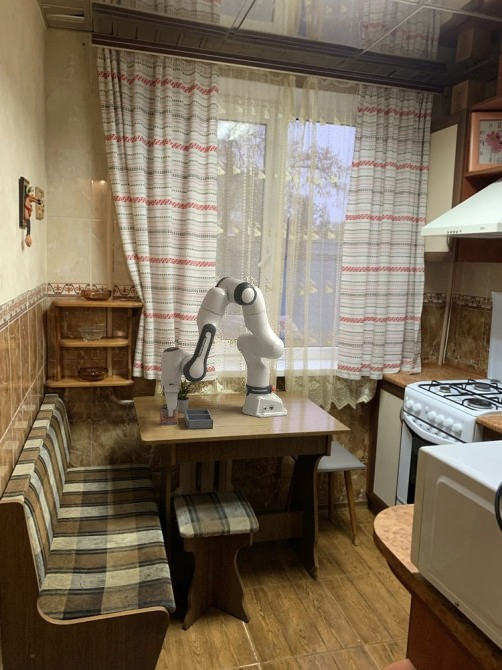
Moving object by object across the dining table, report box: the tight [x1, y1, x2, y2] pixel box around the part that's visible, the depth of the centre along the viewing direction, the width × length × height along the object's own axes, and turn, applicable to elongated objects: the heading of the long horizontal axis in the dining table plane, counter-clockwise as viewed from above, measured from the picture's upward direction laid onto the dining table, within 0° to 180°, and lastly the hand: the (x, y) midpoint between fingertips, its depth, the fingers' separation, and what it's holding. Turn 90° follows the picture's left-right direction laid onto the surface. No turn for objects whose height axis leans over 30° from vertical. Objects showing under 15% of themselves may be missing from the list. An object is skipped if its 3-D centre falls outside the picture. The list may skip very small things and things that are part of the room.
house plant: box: [176, 377, 198, 413], centre depth 254 cm, size 14×14×16 cm
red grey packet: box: [159, 402, 178, 427], centre depth 236 cm, size 8×3×10 cm, turn 106°
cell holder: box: [183, 408, 214, 431], centre depth 239 cm, size 11×16×4 cm
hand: (169, 413), depth 236 cm, fingers open, 5 cm apart
